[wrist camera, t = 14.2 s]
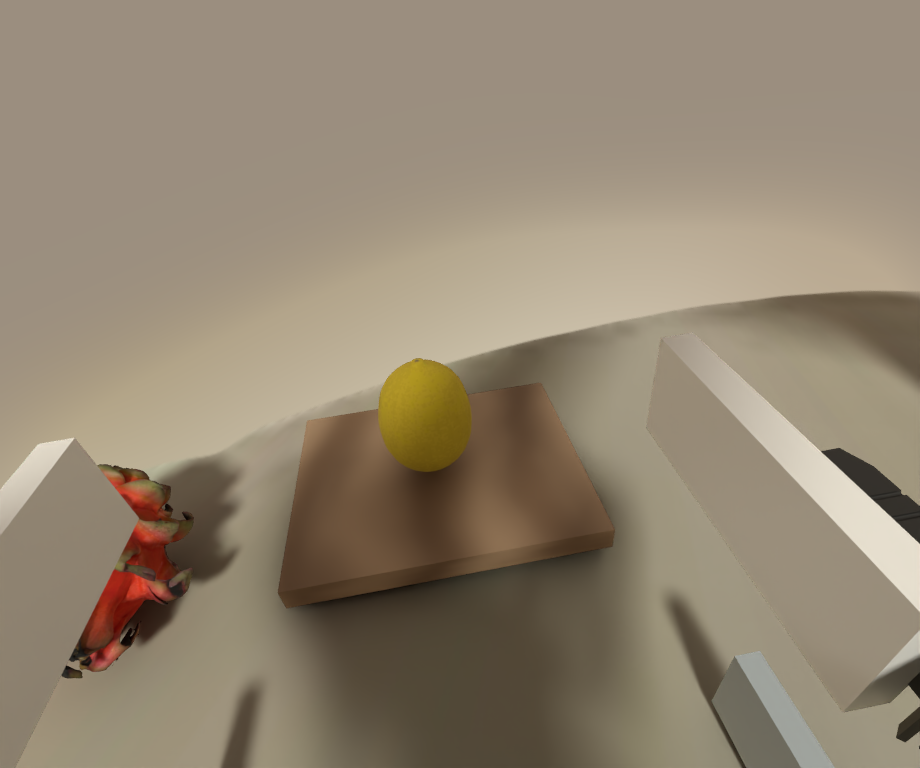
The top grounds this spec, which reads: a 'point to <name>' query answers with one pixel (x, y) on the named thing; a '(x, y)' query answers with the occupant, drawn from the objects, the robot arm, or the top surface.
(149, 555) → the dragon fruit
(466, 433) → the lemon
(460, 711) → the top surface
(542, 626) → the top surface
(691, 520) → the top surface
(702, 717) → the top surface
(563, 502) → the board
